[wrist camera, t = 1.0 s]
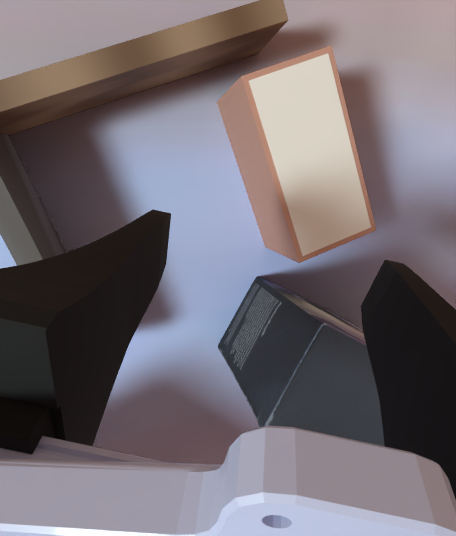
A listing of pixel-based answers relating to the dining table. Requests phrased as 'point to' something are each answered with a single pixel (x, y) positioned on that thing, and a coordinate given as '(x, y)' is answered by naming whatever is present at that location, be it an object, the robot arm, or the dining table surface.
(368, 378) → the small box
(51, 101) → the shelf
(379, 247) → the dining table surface
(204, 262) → the dining table surface
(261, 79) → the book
